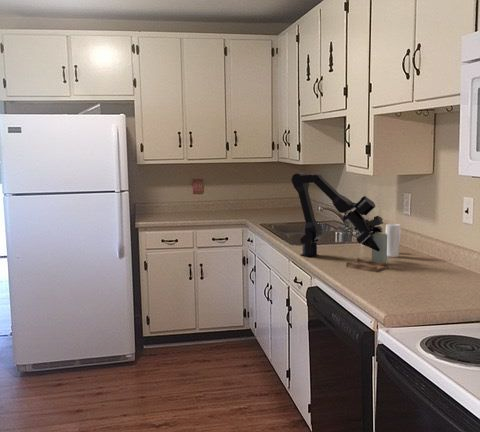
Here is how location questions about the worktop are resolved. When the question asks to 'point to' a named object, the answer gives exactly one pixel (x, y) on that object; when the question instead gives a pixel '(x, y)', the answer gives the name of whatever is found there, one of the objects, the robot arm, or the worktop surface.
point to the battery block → (382, 244)
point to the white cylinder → (393, 239)
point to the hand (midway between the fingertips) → (382, 249)
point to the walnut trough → (367, 265)
